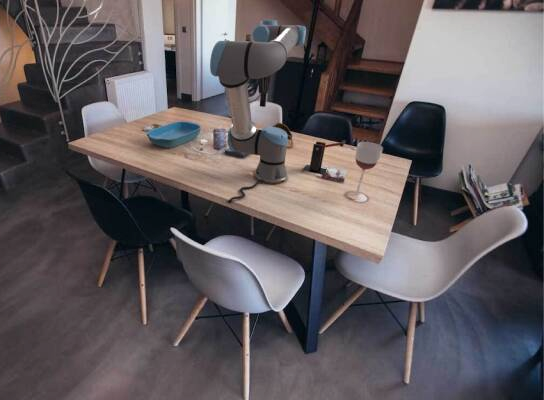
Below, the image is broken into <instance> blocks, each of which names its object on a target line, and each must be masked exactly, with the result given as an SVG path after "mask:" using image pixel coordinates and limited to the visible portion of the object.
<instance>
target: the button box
mask: <svg viewBox="0 0 544 400" xmlns="http://www.w3.org/2000/svg"><path fill="white" fill-rule="evenodd" d="M224 155H227V156H231V157H236V158H240V159H246V157H248V156H249V155H250V154H247V153H238V152H235V151H232V150H231V149H230V148H229V147H228V148H226V149H224Z"/></svg>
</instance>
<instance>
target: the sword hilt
mask: <svg viewBox="0 0 544 400" xmlns="http://www.w3.org/2000/svg"><path fill="white" fill-rule="evenodd" d="M271 127H277V128H280V129H282V130H284V131H285V132H286V133H287V135H288V141H290V143H291V145H290V146H289V145H287V149H291V148H293V147H294V141H293V134H292V132H291V130H290V129H289V127H288V126H287V125H286V124H284V123H283V122H277V123H275V124H274V125H272V126H271Z"/></svg>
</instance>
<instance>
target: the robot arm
mask: <svg viewBox="0 0 544 400" xmlns="http://www.w3.org/2000/svg"><path fill="white" fill-rule="evenodd" d="M306 36H307V28H306V26H305V25H299V24H296V25H285V24H284V25H283V24H278V21H277V19H262V20H261V22H260V24H259V25H257V26H255V27H254V29H253V30H252V34H251V37H252V40H253V41H243V40H241V41H240V40H239V41H238V40H229V39H227V40H219V41H217V42H216V43H215V44H214V45H213V47H212V51H211V52H210V59H209V60H210V61H209V70H210V73H211V74H210V75H212V76H213V77H215V78H216V77H218V81H219V84H220V85H221V87H223V88H224V91H225V95H226V99H227V104H228V109H229V114H230V120H231V126H230V127H229V130H228V132H227V136H226V137H227V146H228V148H230V149H231V150H232V151H235V152H238V153H247V154H249V155H254V156H259V162H258V164H257V167H256V168H255V171H254V178H255V180H257V181H256V182H255V183H254V184H253V185H252V186H242V187H240V188H239V192H240V193H241V194H242V195H239V196H238V195H237V196H232V197H231V198H229V200H228V201H227V204H231V202H232V201H233V200H237V199H244V198H245V196H246V193H245V192H244V191H243V190H251V189H254V188H255V187H256V186H257V185H259V184H261V183H263V184H269V185H279V184H282V183H285V181H286V179H287V177H288V172H287V168H286V155H287V149H288V148H287V146H288V141H289V139H288V135H287V133H286V132H285V131H284V130H282V129H280V128H277V127H272V126H267V125H266V126H264V127H262V129H260V128H257V125H256V123H255V122H254V121H253V119H252V111H251V103H250V98H249V97H250V96H249V88H248V83H249V81H250V80H257V84H258V85H257V86H258V87H257V89H258V90H257V91H258V94H260V95H259V96H260V97H259V107H262V108H266V107H267V94H270V93H269V91H270V87H271V82H272V76H273V74H275V73H276V72H278V71H279V70H280V69H282V67H284V65H285V63H286V62H287V60H288V55H289V54H290V53H291V51H292V50H293V49H294V47H302V46H303V45H305V41H306Z"/></svg>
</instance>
